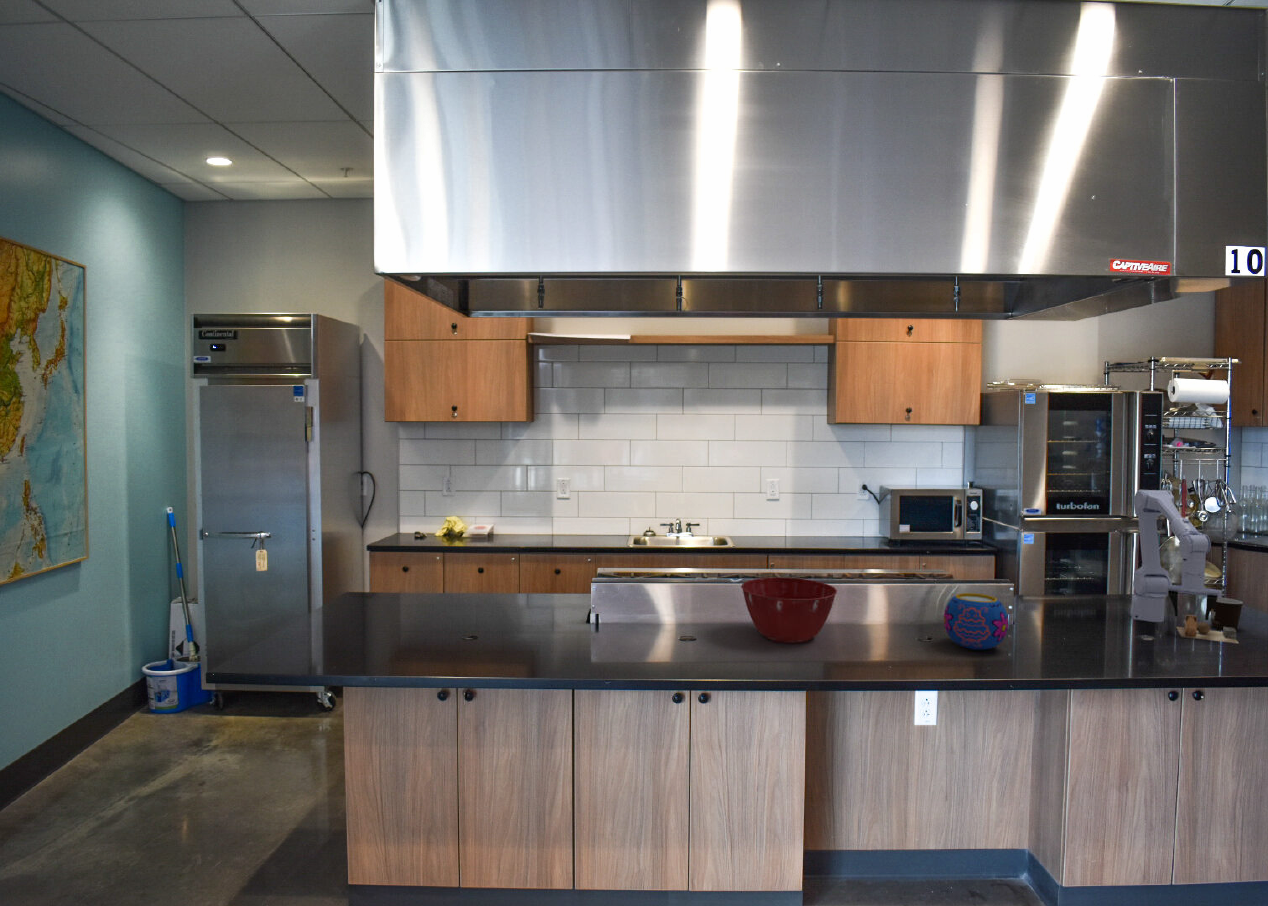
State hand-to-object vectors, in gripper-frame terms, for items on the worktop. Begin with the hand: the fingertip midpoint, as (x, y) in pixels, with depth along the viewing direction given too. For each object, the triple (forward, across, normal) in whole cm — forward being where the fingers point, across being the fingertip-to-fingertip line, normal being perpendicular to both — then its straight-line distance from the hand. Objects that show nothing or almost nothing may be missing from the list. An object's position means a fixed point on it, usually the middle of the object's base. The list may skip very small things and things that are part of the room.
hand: (1191, 617), depth 251 cm
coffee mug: (+7, +9, +20) cm, 23 cm away
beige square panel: (+7, +4, +6) cm, 10 cm away
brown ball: (+6, +3, +7) cm, 9 cm away
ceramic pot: (+7, -53, -49) cm, 72 cm away
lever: (+6, 0, +6) cm, 8 cm away
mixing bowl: (+7, -102, -71) cm, 125 cm away
